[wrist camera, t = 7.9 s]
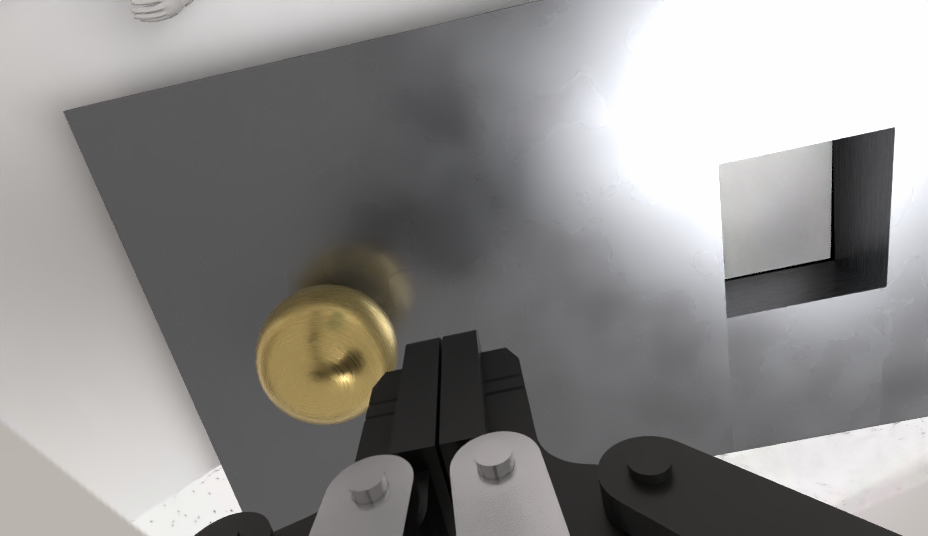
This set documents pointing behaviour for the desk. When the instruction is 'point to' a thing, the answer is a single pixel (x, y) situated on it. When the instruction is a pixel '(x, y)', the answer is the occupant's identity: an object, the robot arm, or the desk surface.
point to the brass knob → (325, 353)
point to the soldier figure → (158, 9)
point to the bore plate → (543, 220)
